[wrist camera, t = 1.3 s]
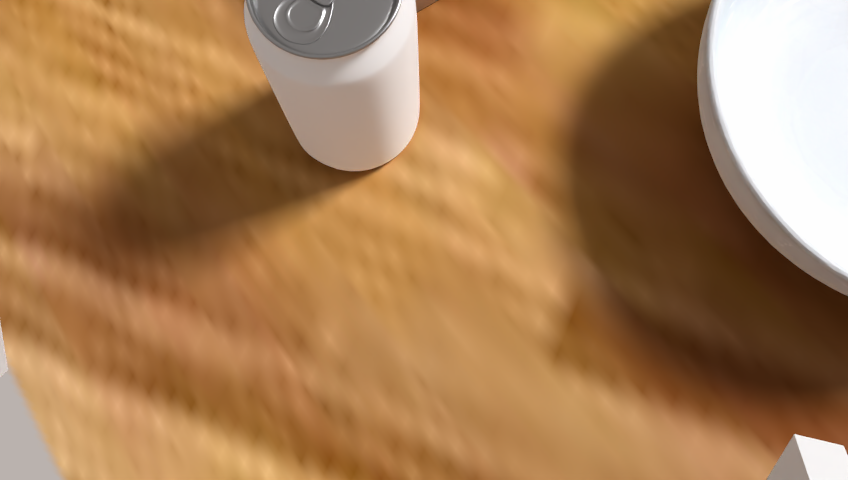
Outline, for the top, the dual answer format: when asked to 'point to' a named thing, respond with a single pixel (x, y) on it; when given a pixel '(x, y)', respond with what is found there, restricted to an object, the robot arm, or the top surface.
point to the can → (341, 74)
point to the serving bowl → (782, 123)
